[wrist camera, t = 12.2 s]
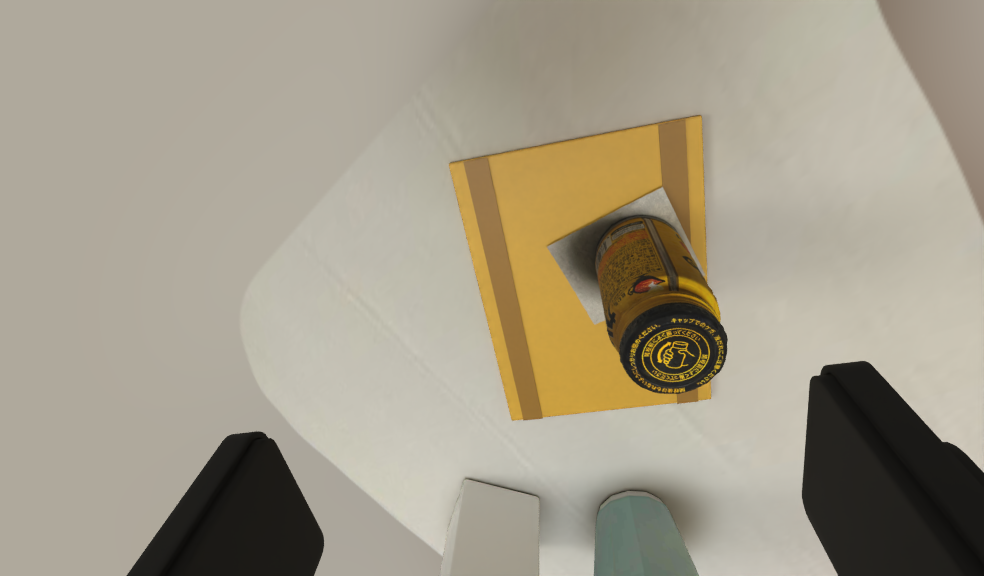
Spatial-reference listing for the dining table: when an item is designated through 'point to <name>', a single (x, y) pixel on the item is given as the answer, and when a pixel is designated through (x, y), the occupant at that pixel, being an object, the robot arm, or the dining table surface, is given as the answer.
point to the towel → (538, 278)
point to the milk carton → (492, 533)
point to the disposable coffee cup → (639, 539)
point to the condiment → (647, 294)
